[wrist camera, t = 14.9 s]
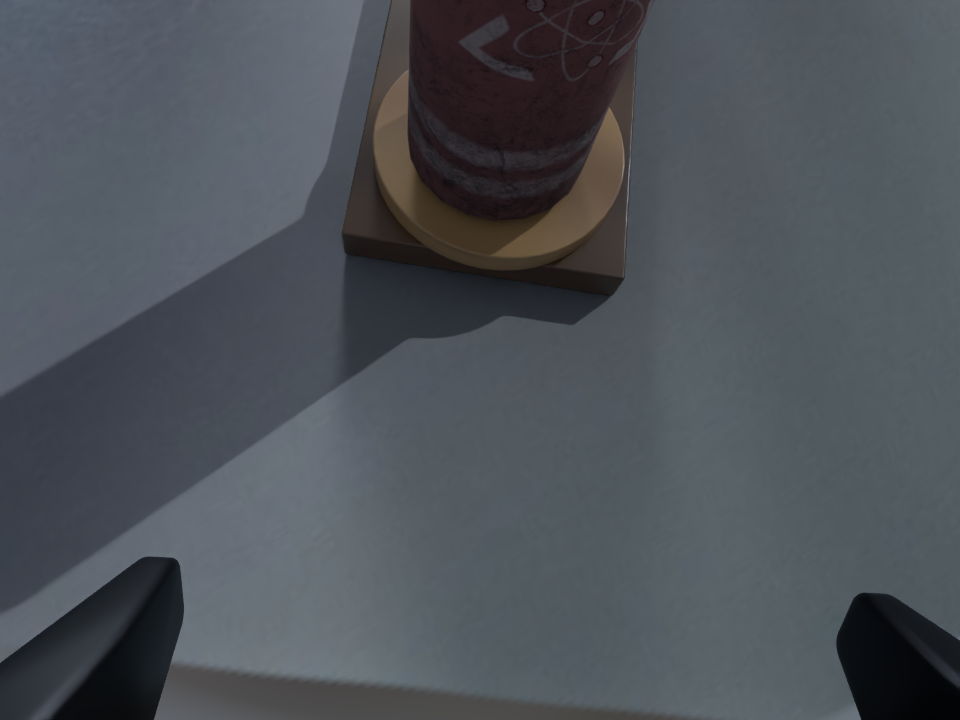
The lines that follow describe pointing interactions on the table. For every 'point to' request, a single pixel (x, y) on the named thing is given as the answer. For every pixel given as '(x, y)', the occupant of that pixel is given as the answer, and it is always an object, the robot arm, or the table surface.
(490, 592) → the table surface
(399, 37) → the stand
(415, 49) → the can
